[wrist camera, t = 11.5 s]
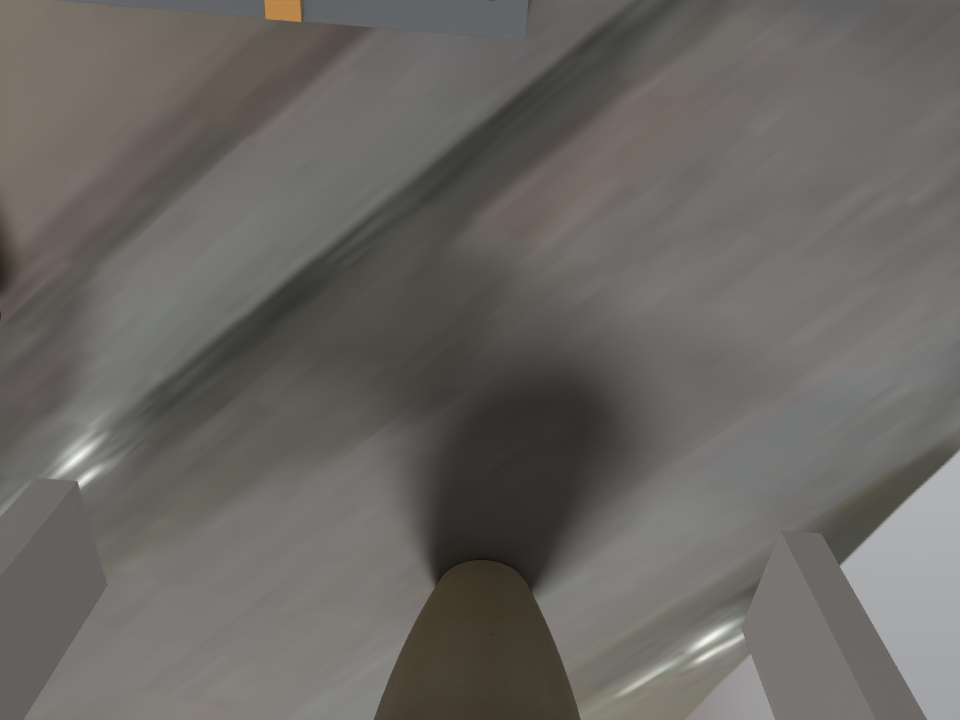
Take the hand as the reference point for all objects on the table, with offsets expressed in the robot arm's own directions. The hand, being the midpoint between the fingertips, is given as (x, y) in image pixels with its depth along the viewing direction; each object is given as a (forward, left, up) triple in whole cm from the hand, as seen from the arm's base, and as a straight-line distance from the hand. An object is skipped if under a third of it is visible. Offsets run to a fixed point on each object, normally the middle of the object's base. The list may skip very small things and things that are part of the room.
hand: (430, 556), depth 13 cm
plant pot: (-3, +34, -29) cm, 45 cm away
